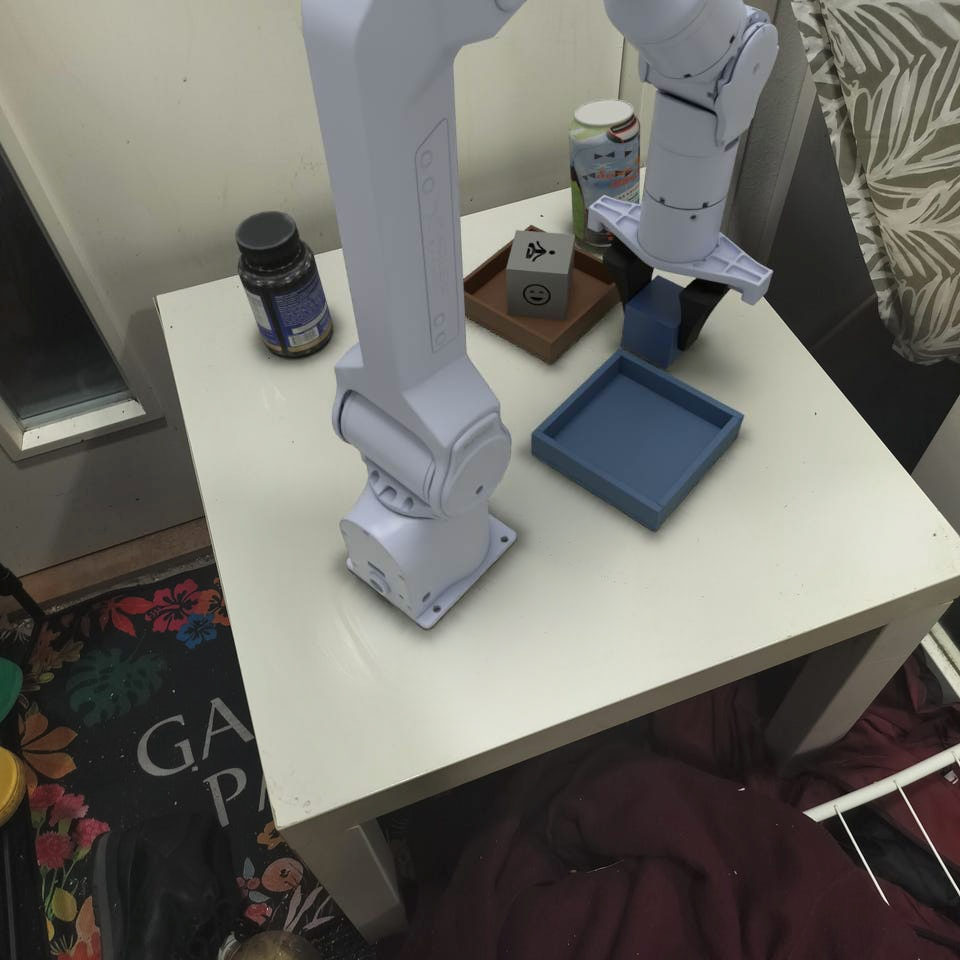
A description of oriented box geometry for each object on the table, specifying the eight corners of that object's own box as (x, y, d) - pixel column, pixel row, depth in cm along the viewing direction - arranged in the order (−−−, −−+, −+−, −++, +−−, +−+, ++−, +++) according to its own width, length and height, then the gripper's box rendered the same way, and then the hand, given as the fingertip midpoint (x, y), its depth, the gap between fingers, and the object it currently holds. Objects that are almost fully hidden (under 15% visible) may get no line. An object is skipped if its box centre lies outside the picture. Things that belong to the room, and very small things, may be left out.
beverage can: (604, 266, 76) (614, 145, 66) (549, 228, 80) (552, 109, 70) (653, 235, 78) (670, 114, 69) (597, 200, 82) (606, 81, 72)
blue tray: (654, 532, 59) (659, 512, 57) (530, 453, 64) (530, 433, 62) (738, 435, 64) (744, 414, 62) (617, 369, 69) (619, 347, 67)
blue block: (666, 370, 68) (674, 329, 64) (620, 345, 70) (625, 304, 66) (696, 339, 70) (706, 297, 66) (651, 316, 72) (657, 274, 68)
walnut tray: (550, 365, 69) (551, 343, 67) (453, 310, 74) (451, 288, 72) (627, 294, 74) (629, 272, 72) (531, 246, 78) (531, 224, 76)
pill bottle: (340, 311, 74) (313, 205, 65) (326, 361, 71) (296, 256, 62) (272, 309, 75) (237, 203, 66) (255, 358, 71) (215, 254, 62)
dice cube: (517, 276, 75) (516, 230, 71) (572, 281, 74) (575, 234, 70) (507, 314, 72) (506, 268, 68) (565, 320, 72) (567, 274, 67)
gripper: (811, 195, 56) (765, 341, 67) (632, 123, 62) (616, 268, 73) (757, 249, 53) (718, 393, 64) (574, 168, 59) (567, 312, 70)
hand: (661, 330), depth 69 cm, fingers closed on blue block, 4 cm apart
